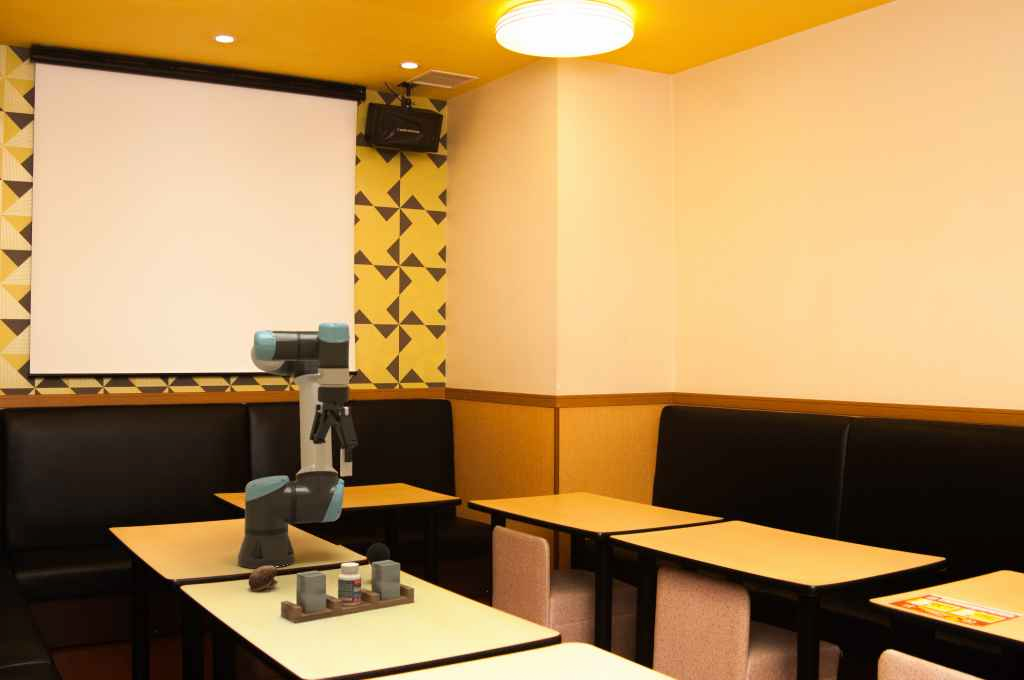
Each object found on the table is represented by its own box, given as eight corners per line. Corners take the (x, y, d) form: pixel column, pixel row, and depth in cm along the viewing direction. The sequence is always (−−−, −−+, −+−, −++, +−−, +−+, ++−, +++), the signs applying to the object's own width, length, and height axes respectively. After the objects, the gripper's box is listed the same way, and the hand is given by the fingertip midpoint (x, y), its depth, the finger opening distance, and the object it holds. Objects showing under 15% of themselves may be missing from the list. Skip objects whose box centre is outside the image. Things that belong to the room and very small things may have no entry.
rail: (280, 616, 222) (281, 574, 222) (397, 595, 240) (398, 557, 240) (295, 623, 216) (295, 580, 216) (413, 602, 235) (414, 562, 235)
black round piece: (388, 585, 250) (388, 545, 250) (364, 585, 251) (364, 545, 251) (391, 580, 256) (391, 540, 256) (368, 580, 256) (368, 540, 256)
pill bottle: (356, 607, 225) (356, 567, 225) (334, 605, 226) (334, 566, 226) (364, 601, 230) (364, 562, 230) (342, 600, 231) (343, 561, 231)
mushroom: (289, 572, 250) (274, 554, 248) (279, 592, 242) (264, 573, 241) (264, 585, 252) (249, 567, 250) (254, 605, 245) (238, 586, 243)
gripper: (296, 384, 253) (295, 468, 253) (344, 388, 233) (343, 479, 233) (323, 383, 258) (322, 466, 258) (372, 387, 238) (371, 477, 238)
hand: (332, 473), depth 246 cm, fingers open, 13 cm apart
